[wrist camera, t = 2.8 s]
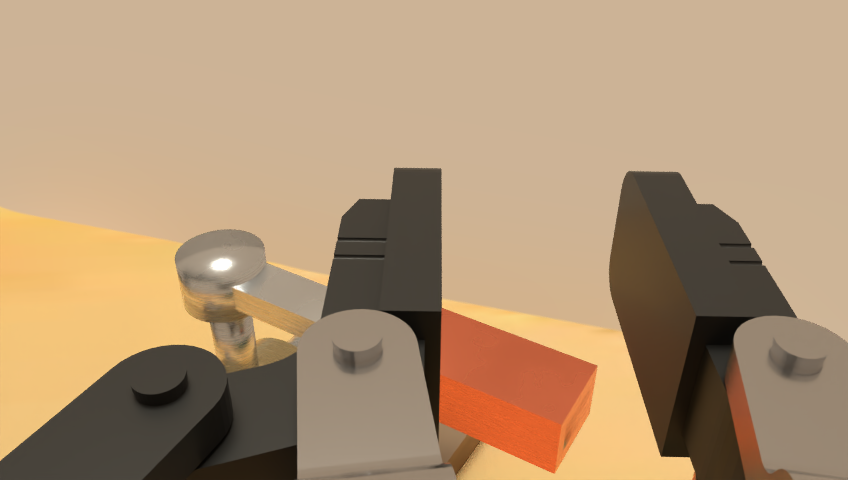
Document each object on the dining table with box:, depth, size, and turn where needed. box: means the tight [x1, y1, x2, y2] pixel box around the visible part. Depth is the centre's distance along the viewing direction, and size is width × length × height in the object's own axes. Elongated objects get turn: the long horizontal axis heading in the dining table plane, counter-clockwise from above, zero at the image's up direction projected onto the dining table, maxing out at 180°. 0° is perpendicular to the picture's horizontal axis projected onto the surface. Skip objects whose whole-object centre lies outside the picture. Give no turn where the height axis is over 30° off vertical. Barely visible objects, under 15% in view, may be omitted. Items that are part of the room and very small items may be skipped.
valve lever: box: [175, 230, 597, 474], centre depth 26 cm, size 3×16×2 cm, turn 59°
